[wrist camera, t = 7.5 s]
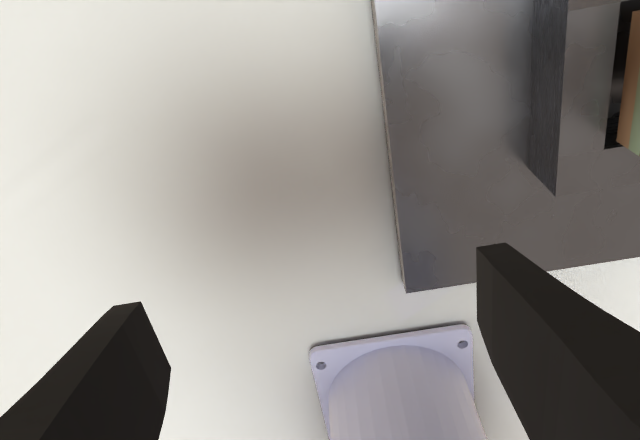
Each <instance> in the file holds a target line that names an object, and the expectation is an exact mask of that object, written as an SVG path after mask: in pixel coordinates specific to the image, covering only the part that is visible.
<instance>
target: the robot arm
mask: <svg viewBox="0 0 640 440" xmlns="http://www.w3.org/2000/svg"><path fill="white" fill-rule="evenodd" d="M476 275H477V322H478V325H479V328H480V331H481V334H482V337H483V339H484V342H485V345H486V348H487V351H488V354H489V356H490V359H491V362H492V364H493V366H494V368H495V371H496V373H497V375H498V377H499V379H500V381H501V383H502V385H503V387H504V389H505V391H506V393H507V395H508V397H509V399H510V401H511V403H512V405H513V407H514V409H515V411H516V413H517V415H518V417H519V419H520V421H521V423H522V425H523V427H524V429H525V431H526V433H527V435H528V437H529V439H530V440H640V332H639V331H637V330H635V329H634V328H632V327H630V326H629V325H627V324H625V323H624V322H622V321H620V320H619V319H617V318H615V317H614V316H612V315H610V314H609V313H607V312H605V311H604V310H602V309H601V308H599V307H598V306H596V305H594V304H593V303H591V302H590V301H588V300H587V299H585V298H584V297H582V296H581V295H579V294H578V293H576V292H575V291H573V290H572V289H570V288H569V287H567V286H566V285H564V284H563V283H561V282H560V281H559V280H557V279H556V278H554V277H553V276H551V275H550V274H549V273H547V272H546V271H544V270H543V269H542V268H540V267H539V266H538V265H536V264H535V263H533V262H532V261H531V260H529V259H528V258H527V257H525V256H524V255H523V254H521V253H520V252H518V251H517V250H516V249H514V248H513V247H512V246H510V245H509V244H507V243H506V242H505V243H499V244H492V245H486V246H480V247H476ZM460 341H464V342H462V343H459V342H460ZM309 360H310V364H311V368H312V372H313V376H314V380H315V384H316V388H317V392H318V396H319V400H320V404H321V408H322V413H323V417H324V421H325V425H326V429H327V433H328V437H329V440H487V437H486V434H485V431H484V429H483V426H482V423H481V421H480V418H479V415H478V412H477V410H476V407H475V404H474V373H473V338H472V332H471V329H470V327H468V326H467V325H464V324H459V325H452V326H446V327H439V328H433V329H426V330H420V331H413V332H407V333H400V334H393V335H387V336H380V337H374V338H367V339H361V340H354V341H347V342H341V343H334V344H328V345H321V346H316V347H313V348H312V349H311V350H310V352H309ZM319 362H324V363H323V364H319ZM170 373H171V367H170V365H169V363H168V360H167V358H166V356H165V354H164V352H163V349H162V347H161V345H160V343H159V341H158V338H157V336H156V334H155V332H154V330H153V327H152V325H151V323H150V321H149V318H148V316H147V314H146V312H145V310H144V307H143V305H142V303H141V302H134V303H128V304H122V305H116V306H113V307H112V308H111V309H110V310H108V311H107V312H106V313H105V314H104V315H103V316H102V317H101V318H100V319H99V320H98V321H97V322H96V323H95V324H94V325H93V326H92V327H91V328H90V329H89V330H88V331H87V332H86V333H85V334H84V335H83V336H82V337H81V338H80V339H79V340H78V342H77V343H76V344H75V345H74V346H73V347H72V348H71V349H70V350H69V351H68V352H67V353H66V354H65V355H64V356H63V357H62V358H61V359H60V360H59V361H58V362H57V363H56V364H55V365H54V366H53V367H52V368H51V369H50V370H49V371H48V372H47V373H46V374H45V375H44V376H43V377H42V378H41V379H40V380H39V381H38V382H37V383H36V384H35V385H34V386H33V387H32V388H31V389H30V390H29V391H28V392H27V393H26V394H25V395H23V396H22V397H21V398H20V399H19V400H18V401H17V402H16V403H15V404H14V405H13V406H12V407H11V408H10V409H9V410H8V411H7V412H6V413H5V414H3V415H2V416H1V417H0V440H158V439H159V435H160V431H161V427H162V424H163V420H164V416H165V411H166V404H167V397H168V390H169V381H170Z"/></svg>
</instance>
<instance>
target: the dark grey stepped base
mask: <svg viewBox="0 0 640 440" xmlns="http://www.w3.org/2000/svg"><path fill="white" fill-rule="evenodd" d="M371 4H372V13H373V22H374V31H375V40H376V49H377V58H378V67H379V76H380V85H381V94H382V103H383V112H384V121H385V130H386V139H387V148H388V157H389V166H390V175H391V184H392V193H393V201H394V210H395V219H396V228H397V237H398V246H399V255H400V264H401V273H402V281H403V284H404V288H405V291H406V293H411V292H418V291H424V290H431V289H437V288H443V287H450V286H456V285H462V284H469V283H475V282H477V275H476V247H480V246H486V245H492V244H499V243H505V242H506V243H507V244H509V245H510V246H512V247H513V248H514V249H516V250H517V251H518V252H520V253H521V254H523V255H524V256H525V257H527V258H528V259H529V260H531V261H532V262H533V263H535V264H536V265H538V266H539V267H540V268H542V269H543V270H544V271H552V270H558V269H565V268H571V267H578V266H584V265H590V264H597V263H603V262H610V261H616V260H622V259H629V258H635V257H640V157H639V156H638V155H636V154H635V153H633V152H632V151H630V150H629V149H627V148H626V147H624V146H623V145H621V144H620V143H618V142H617V141H616V139H617V131H618V123H619V115H620V107H621V99H622V91H623V83H624V75H625V67H626V59H627V51H628V43H629V35H630V28H631V20H632V12H633V11H638V10H640V0H371Z"/></svg>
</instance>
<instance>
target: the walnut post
mask: <svg viewBox="0 0 640 440" xmlns="http://www.w3.org/2000/svg"><path fill="white" fill-rule="evenodd" d="M616 141H617V142H618V143H620V144H621V145H623V146H624V147H626V148H627V149H629V150H630V151H632V152H633V153H635V154H636V155H638V156H639V157H640V10H638V11H633V12H632V20H631V28H630V35H629V43H628V51H627V59H626V67H625V75H624V83H623V91H622V99H621V107H620V115H619V123H618V131H617V139H616Z"/></svg>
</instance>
